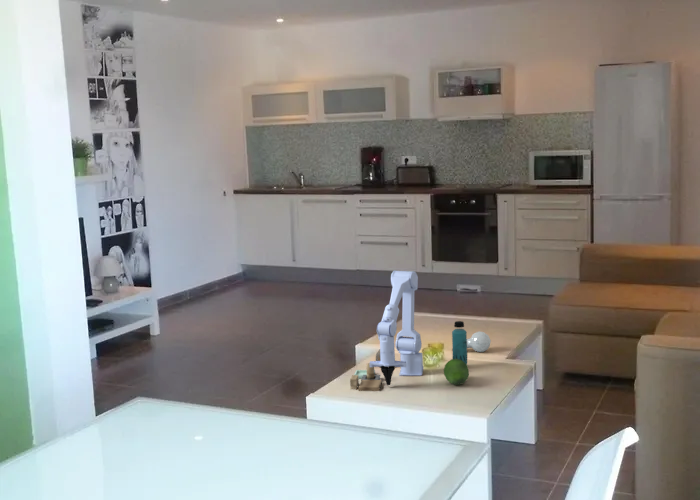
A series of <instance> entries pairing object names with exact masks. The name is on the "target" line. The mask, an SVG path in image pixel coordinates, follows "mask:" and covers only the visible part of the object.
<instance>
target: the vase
mask: <svg viewBox="0 0 700 500" xmlns="http://www.w3.org/2000/svg"><path fill="white" fill-rule="evenodd" d="M375 361H381V358H380V348H379V349H378V351H377V352H376V355H375ZM379 368H380V369H381V367H379Z"/></svg>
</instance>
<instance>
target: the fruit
mask: <svg viewBox="0 0 700 500" xmlns="http://www.w3.org/2000/svg"><path fill="white" fill-rule="evenodd" d="M443 373H444V377H445V379H446V381H447V382H448V383H450V384H451V385H462V384H464V383H465V382H466V381H467V380H468V379H469V376H470V370H469V366H468V365H466V363H465V362H464V361H462V360H460V359H453V358H452V359H450V360H448V361H447V362H446V363H445V364H444V369H443Z"/></svg>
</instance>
